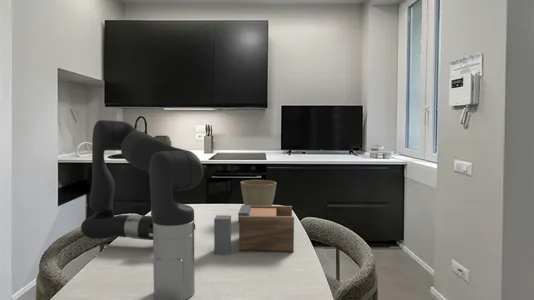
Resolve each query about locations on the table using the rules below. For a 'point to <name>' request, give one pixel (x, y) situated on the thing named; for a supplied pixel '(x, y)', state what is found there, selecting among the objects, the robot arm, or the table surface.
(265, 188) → the plant pot
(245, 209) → the trapdoor
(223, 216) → the basalt block
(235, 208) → the table surface
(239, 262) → the table surface
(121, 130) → the robot arm
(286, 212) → the walnut frame
